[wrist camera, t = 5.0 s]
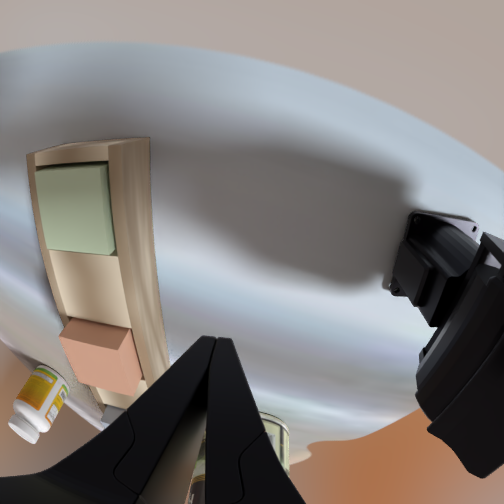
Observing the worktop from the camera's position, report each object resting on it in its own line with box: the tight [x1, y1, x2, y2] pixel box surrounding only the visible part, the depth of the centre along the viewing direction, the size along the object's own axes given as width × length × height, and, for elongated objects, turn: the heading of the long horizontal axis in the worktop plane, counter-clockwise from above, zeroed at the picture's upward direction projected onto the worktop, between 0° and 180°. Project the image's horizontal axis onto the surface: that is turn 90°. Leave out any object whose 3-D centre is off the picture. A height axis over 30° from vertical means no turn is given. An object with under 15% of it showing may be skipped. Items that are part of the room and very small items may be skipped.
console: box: [26, 137, 171, 414], centre depth 22 cm, size 7×29×4 cm, turn 177°
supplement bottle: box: [8, 365, 69, 444], centre depth 25 cm, size 5×5×10 cm
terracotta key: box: [59, 317, 143, 397], centre depth 20 cm, size 5×5×4 cm
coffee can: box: [188, 412, 289, 504], centre depth 24 cm, size 10×10×14 cm
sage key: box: [35, 160, 117, 255], centre depth 17 cm, size 5×5×4 cm
